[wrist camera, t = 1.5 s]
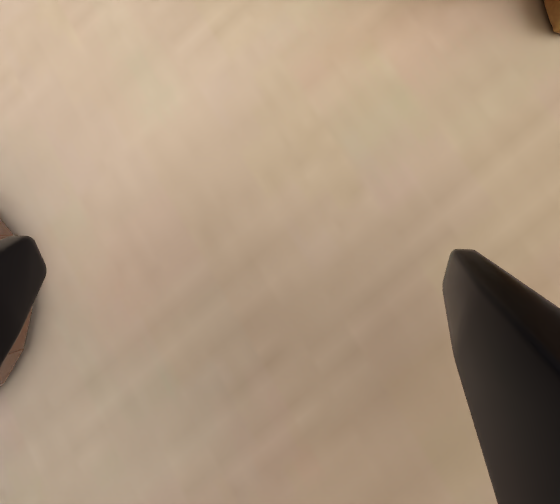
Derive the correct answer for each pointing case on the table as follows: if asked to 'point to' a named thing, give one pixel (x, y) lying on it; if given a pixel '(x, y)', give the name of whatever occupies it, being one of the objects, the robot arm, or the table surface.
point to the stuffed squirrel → (553, 13)
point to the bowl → (3, 372)
